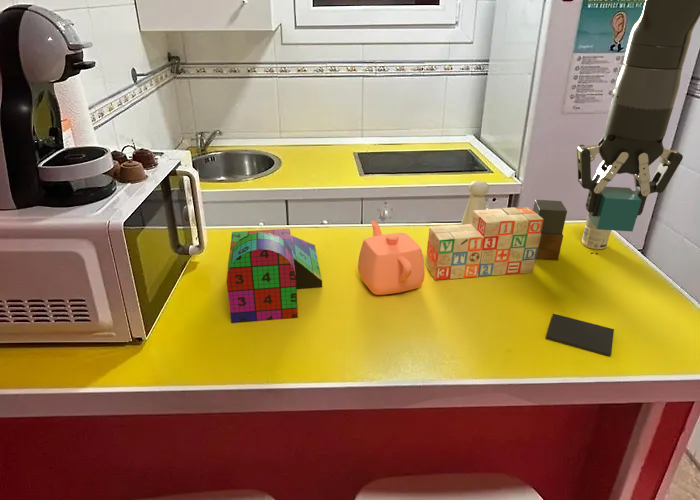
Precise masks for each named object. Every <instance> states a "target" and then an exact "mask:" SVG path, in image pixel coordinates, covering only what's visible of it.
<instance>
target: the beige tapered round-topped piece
mask: <svg viewBox="0 0 700 500" xmlns="http://www.w3.org/2000/svg"><path fill="white" fill-rule="evenodd" d="M468 192H469V193H470V195H469V198H468V202H467V204H466V207H465V211H464V213H463V217H462V219H461V223H460V225H466V224H471V222H472V215H473V211H474V210H486V197H485V195H487V194H488V192H489V184H488V183H487V182H486V181H482V180H474V181H471V182H470V183H469V186H468Z"/></svg>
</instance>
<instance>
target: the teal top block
mask: <svg viewBox="0 0 700 500" xmlns="http://www.w3.org/2000/svg"><path fill="white" fill-rule="evenodd" d="M633 191H634V190H633V189H632V188H631V187H622V186H621V187H620V186H605V188H604V189H603V191H602V192H601V193H602V194H603V195H602V198H601V202H600V206H599V210H598V214H597V216H591V215H590V214H588V213H587V216H589V218H590V219H591V221H592V222H593V224H594V225H595V227H596V228H597V229H599V230H611V231H617V232H618V231H619V232H633V231H634V228H635V225H636V222H637V218H638V216H637V214H638V211H639V208H640V204H641V201H642V200H641V199H640V198H639V197H638V196H637V195H636V194H635V193H634V192H633Z"/></svg>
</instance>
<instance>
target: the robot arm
mask: <svg viewBox="0 0 700 500" xmlns="http://www.w3.org/2000/svg"><path fill="white" fill-rule="evenodd" d="M699 19H700V0H645V2H644V5H643V10H642V12H641V14H640V17H639V18H638V19H637V20H636V21H635V22H634V23H633V26H632V28H631V30H630V33H629V36H628V40H627V44H626V48H625V52H624V57H623V61H622V65H621V67H620V71H619V73H618V75H617V78H616V82H615V84H614V89H613V90H612V93H611V97H612V98H611V102H610V106H609V111H608V113H607V119H606V123H605V126H604V131H603V136H602V138H601V139H600V140H599V142H598V143H597V144H593V145H587V146H586V145H585V144H579V145H578V146H577V147H576V156H577V157H576V163H577V165H576V166H577V181H578V183H579V184H580V186H581V187H582V188H583V189H584V190H588V194H587V197H586V202H585V209H586V210H587V213H588V212H589V214H590V215H591V216H597V214H598V210H599V206H600V202H601V198H602V195H603V194H602V193H601V192H602V191H603V189H604V188H605V187H607V185H608V184H609V182H611V181H613V179H614V178H615V176H616V175H617V174H618V175H621V174H629V175H632V176H633V180H634V186H635V190H632V191H633V192H634V193H635V194H636V195H637V196H638V197H639V198H640V199H641V200H642V201H641V204H640V208H639V211H638V214H637V217H639V216H641V215H642V214H643V211H644V208H645V204H646V202H647V199H648V196H649V195H650V194H655V193H657V194H661V193H664V191H665V190H666V188H667V186H668V185H669V183H670V182H671V180H672V178H673V176H674V174H675V173H676V171H677V170H678V168H679V166H680V164H681V163H682V161H683V158H684V156H683V154H681V153H680V152H679V151H678V150H676V149H674V148H670V149H668V148H666V147H664V144H663V141H664V138H665V136H666V133H667V130H668V126H669V123H670V120H671V116H672V113H673V109H674V106H675V102H676V99H677V97H678V92H679V89H680V85H681V77H682V73H683V67H684V64H685V61H686V57H687V54H688V50H689V47H690V44H691V39H692V34H693V32H694V29H695V26H696V24H697V23H698V21H699ZM598 154H599V155H600V157H601V159H602V161H601V162H600V164H599V166H598V167H597V169H596V173H595V175H594V176H593V178H592V171H591V170H592V168H591V167H592V166H591V162H593V161H595V159H596V155H598ZM658 158H659V165H658V166H657V168H656V170H655V172H654V174H653V176H652V177H651V175H650V165H652V164H653V163H654V162H656V160H657V159H658Z"/></svg>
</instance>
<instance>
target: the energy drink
mask: <svg viewBox="0 0 700 500" xmlns="http://www.w3.org/2000/svg"><path fill="white" fill-rule="evenodd" d="M588 214H589V212H588V211H587V216H586V221H585V226H584V230H583V234H582V236H581V243H582V246H584V247H586V248H588V249H590V250H591V249H592V250H597V251H598V250H599V251H600V250H604V249H606V248H607V247H608V243H609V239H610V235H611V232H612V230H599V229H597V228H596V227H595V225H594V224H593V222H592V221H591V219H590V218H589V216H588Z"/></svg>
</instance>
